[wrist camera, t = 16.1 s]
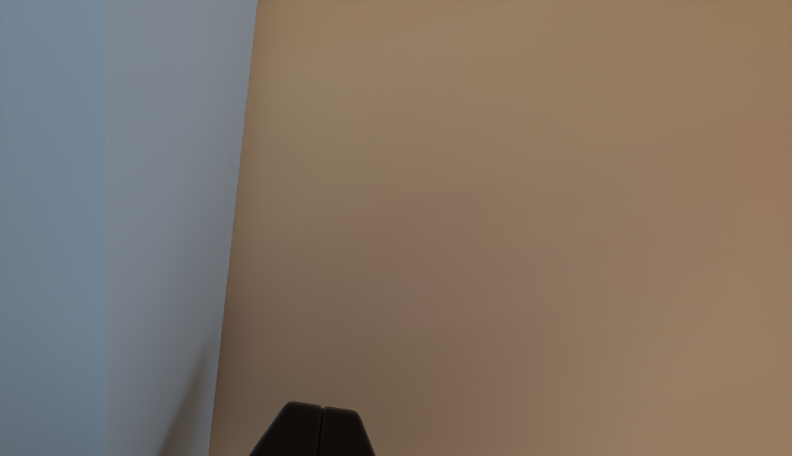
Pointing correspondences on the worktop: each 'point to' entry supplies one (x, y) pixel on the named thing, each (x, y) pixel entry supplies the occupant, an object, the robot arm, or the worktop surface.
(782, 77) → the worktop surface
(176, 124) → the tray
